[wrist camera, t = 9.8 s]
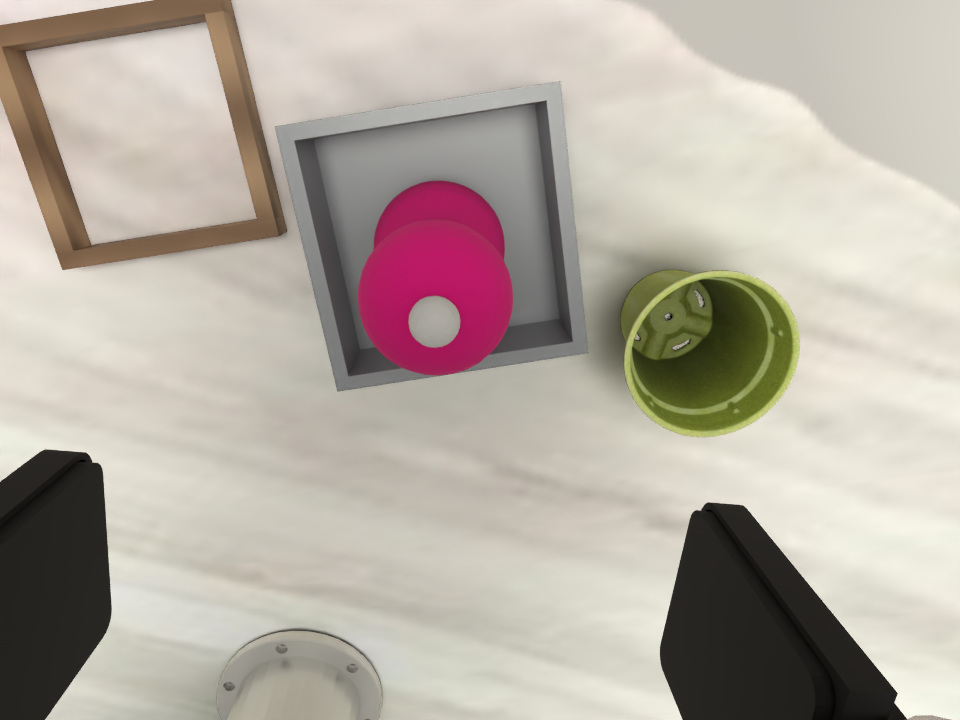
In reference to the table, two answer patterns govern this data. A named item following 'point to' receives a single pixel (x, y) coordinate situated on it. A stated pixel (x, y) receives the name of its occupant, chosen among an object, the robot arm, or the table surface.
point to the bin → (434, 157)
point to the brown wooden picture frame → (10, 78)
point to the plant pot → (707, 350)
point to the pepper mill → (436, 280)
